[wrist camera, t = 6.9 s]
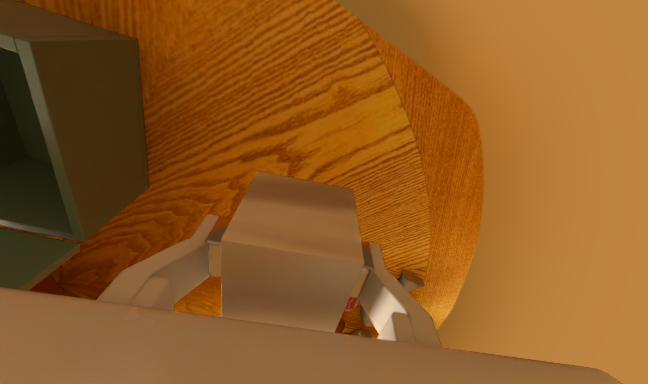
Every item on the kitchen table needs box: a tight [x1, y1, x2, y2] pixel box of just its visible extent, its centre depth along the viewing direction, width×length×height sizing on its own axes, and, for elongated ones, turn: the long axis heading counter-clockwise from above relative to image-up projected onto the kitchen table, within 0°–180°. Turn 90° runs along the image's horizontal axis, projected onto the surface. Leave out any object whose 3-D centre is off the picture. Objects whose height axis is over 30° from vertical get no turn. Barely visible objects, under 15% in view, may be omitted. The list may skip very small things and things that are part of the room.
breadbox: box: [0, 0, 149, 243], centre depth 21 cm, size 16×13×9 cm
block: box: [221, 171, 364, 333], centre depth 11 cm, size 4×4×4 cm
